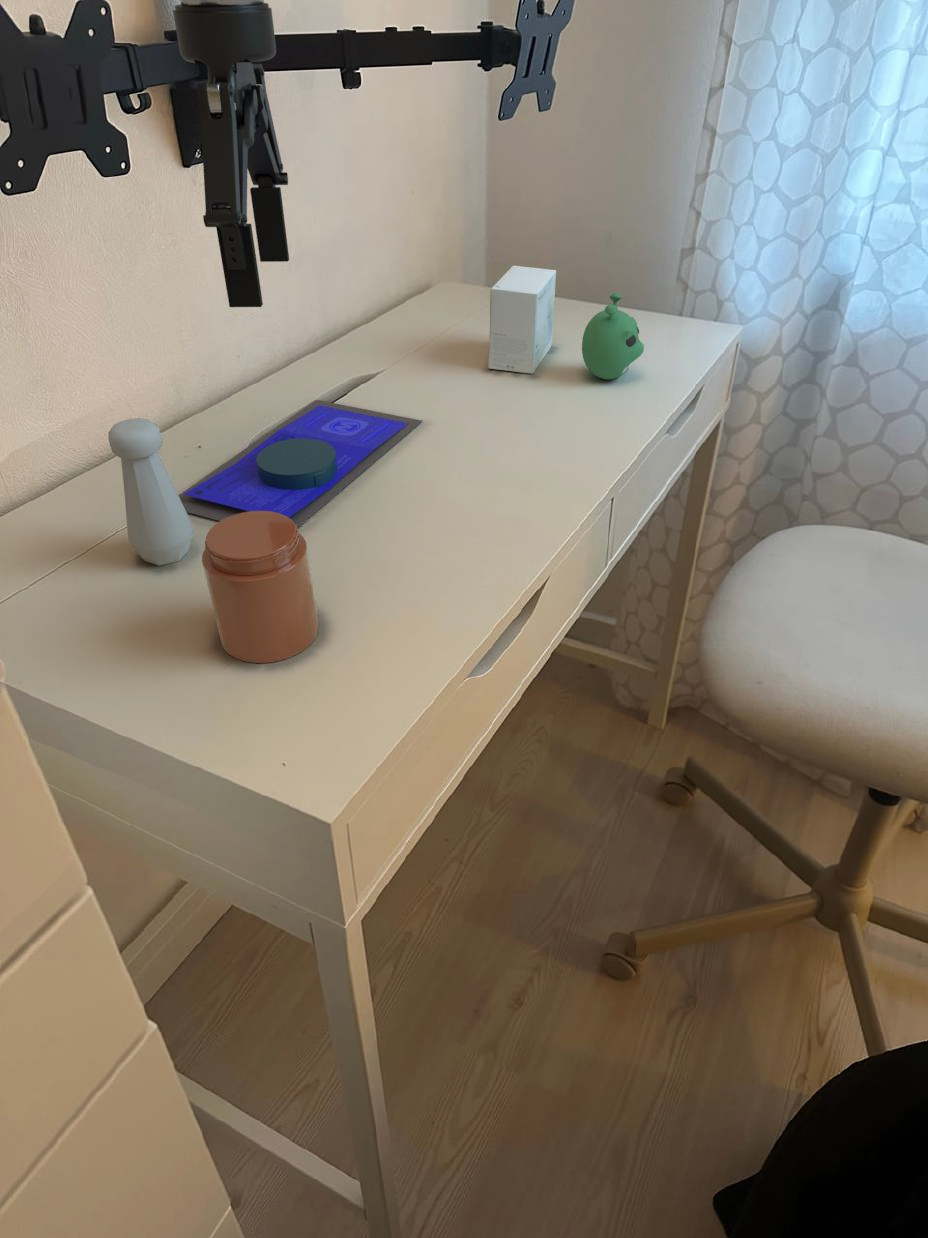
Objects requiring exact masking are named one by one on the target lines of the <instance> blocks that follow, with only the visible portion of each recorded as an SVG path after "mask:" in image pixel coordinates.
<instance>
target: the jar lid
mask: <svg viewBox="0 0 928 1238" xmlns="http://www.w3.org/2000/svg"><path fill="white" fill-rule="evenodd" d="M256 462H257V467H258V473H259V478H260V480H261V481H262V482H263V483H264V484H266V485H268V486H271V487H274V488H278V489H285V490H302V489H310V488H314V487H318V486H321V485H323V484H325V483H327V482H329V481H330V480H331V479H332V478H333V477H334V476H335V475H336V473H337V460H336V452H335V449H334V448H333V447H332V446H331V445H330V444H328V443H326V442H324V441H321V440H316V439H309V438H298V439H289V440H284V441H280V442H277V443H274V444H272V445H270V446H268V447H266V448H264V449H263V450H262V451H261V452H260V453H259V454H258V456H257V459H256Z"/></svg>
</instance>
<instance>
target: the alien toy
mask: <svg viewBox="0 0 928 1238" xmlns="http://www.w3.org/2000/svg"><path fill="white" fill-rule="evenodd" d="M622 299H623V296H622V295H621V293H618V292H613V293H612V294H610V295H609V300H611V301H612V303H613V304H608V305H606V306H605V307H604V310H602V311H599V312H598V313H596V314H595V315H593V317H592V318H591V319H590V320H589V322H587V325H586V327H585V329H584V332H583V335H582V341H581V353H582V360H583V362H584V364H585V367H586V368H587V369H588V371H589V372H590V373H591V374H592V375H593V376H595V377H597V378H599V379H602V380H614V379H618V378H620V377H622V376H623V375H625V374H626V373H627V372H628V371H629V367H630V365H631V364H632V363H633V362H634V361H636V360H637V359H638V358H640V357H641V356H642V355H643V353H644V349H645V344H644V343H643V342H642V341H640V338H639V334H640V329H639V327H638V322H637V321H636V319H635V318H634V316H631V315H629V314H628V313H627V312H625V311H623V310H620V309H619V308H618V302H620V301H621V300H622Z"/></svg>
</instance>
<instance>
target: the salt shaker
mask: <svg viewBox="0 0 928 1238" xmlns="http://www.w3.org/2000/svg"><path fill="white" fill-rule="evenodd" d="M107 435H108V443H109V447H110V449H111V452H112V454H113V455H114V456H116V457H118V459H119V458H120V461H121V462H120V463H121V470H122V471H121V472H122V482H123V492H124V493H123V494H124V502H125V517H126V531H127V532H126V533H127V534H126V535H127V538H128V542H129V544H130V547H131V548H132V549H133V550H134V552H136V553H137V555H138V556H140V557H141V559H142V560H143V561H144V562H146V563H150V564H152V565H154V566H155V565H156V566H158V567H159V566H165V565H168V564H172V563H177V562H180V561H181V560H182V559H183V558H184V557H185V556H186V554H187V553H188V552H189V551H190V548H191V543H192V540H193V537H194V536H193V535H194V526H193V523H192V521H191V518H190V517H189V514H188V512H186V510H185V508H184V506H183V504H182V502H181V500H180V498H179V496H178V495H179V493H178V492H177V488H176V487H175V485H174V483H173V481H172V478H171V476H170V474H169V471H168V470H167V468H166V466H165V464H164V462H163V459H162V457H161V454H160V453H159V451H160V449H161V448H162V447H163V438H162V437H163V435H162V434H161V430H160V428H159V426H158V424H157V423H156V422H153V421H152V420H150V419H149V418H143V417H142V418H141V417H134V418H128V419H124V420H120V421H118V422H117V423H115V424H113V425H112V427H111V428H110V429H109V431H108V433H107Z"/></svg>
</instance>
